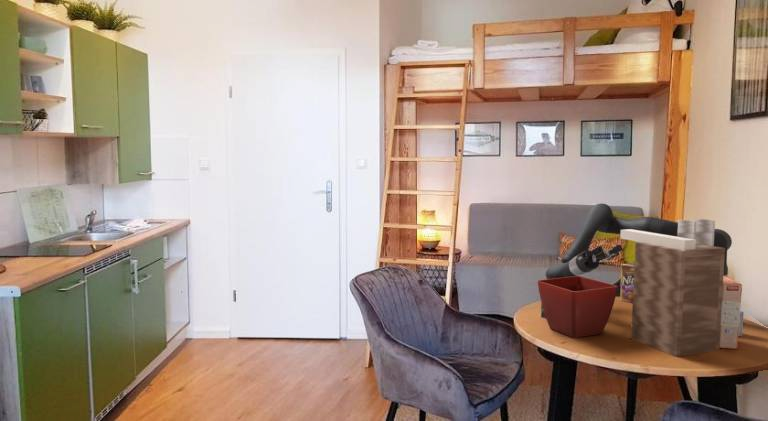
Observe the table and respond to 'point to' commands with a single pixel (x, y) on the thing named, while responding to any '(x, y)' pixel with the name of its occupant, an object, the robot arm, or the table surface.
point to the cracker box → (730, 313)
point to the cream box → (658, 239)
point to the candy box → (627, 283)
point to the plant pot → (577, 304)
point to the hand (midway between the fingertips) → (611, 247)
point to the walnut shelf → (679, 292)
